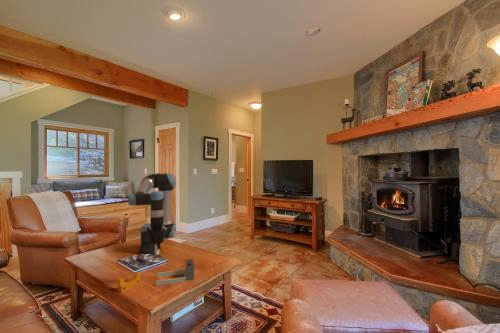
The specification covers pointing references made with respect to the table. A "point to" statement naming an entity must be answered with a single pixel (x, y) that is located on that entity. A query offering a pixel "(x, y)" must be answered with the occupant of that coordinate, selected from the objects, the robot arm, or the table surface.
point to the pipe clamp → (127, 285)
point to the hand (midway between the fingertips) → (157, 254)
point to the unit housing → (189, 269)
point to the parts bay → (170, 281)
